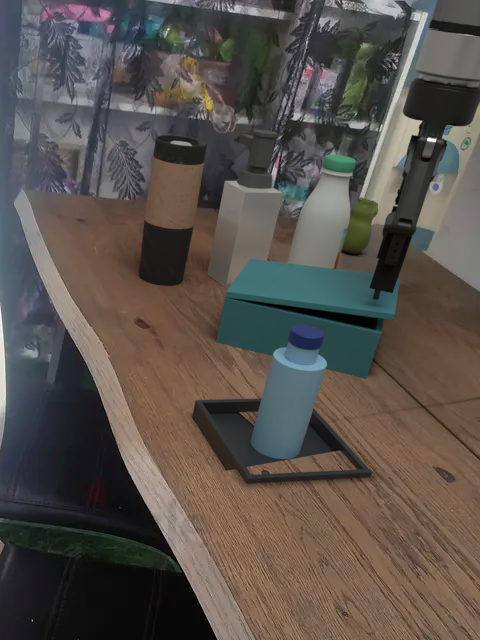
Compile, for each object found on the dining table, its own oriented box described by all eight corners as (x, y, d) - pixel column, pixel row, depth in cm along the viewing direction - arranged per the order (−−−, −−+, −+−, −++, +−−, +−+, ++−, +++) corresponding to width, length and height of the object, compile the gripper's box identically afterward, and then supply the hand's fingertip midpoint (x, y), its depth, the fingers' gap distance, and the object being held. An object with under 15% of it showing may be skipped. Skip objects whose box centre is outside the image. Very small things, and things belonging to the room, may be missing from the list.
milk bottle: (319, 303, 116) (358, 166, 104) (273, 289, 119) (307, 154, 107) (334, 291, 121) (374, 159, 109) (290, 278, 124) (324, 149, 112)
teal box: (372, 340, 105) (388, 294, 101) (364, 384, 93) (381, 333, 89) (239, 310, 110) (249, 264, 106) (214, 347, 98) (225, 297, 94)
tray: (365, 489, 73) (372, 472, 72) (243, 496, 70) (248, 478, 69) (299, 413, 85) (304, 397, 84) (191, 416, 82) (195, 399, 80)
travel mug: (130, 279, 116) (148, 139, 104) (145, 265, 122) (164, 132, 110) (176, 289, 114) (200, 149, 102) (189, 275, 120) (213, 141, 108)
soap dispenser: (234, 268, 125) (265, 125, 112) (260, 287, 119) (296, 137, 106) (200, 269, 123) (227, 123, 110) (225, 288, 117) (257, 135, 104)
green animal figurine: (330, 250, 140) (346, 194, 134) (346, 246, 143) (362, 192, 137) (355, 259, 137) (372, 202, 131) (370, 255, 140) (388, 200, 134)
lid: (398, 282, 100) (418, 206, 94) (393, 320, 88) (415, 235, 82) (249, 264, 106) (259, 191, 100) (225, 297, 94) (234, 216, 88)
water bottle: (309, 455, 76) (347, 340, 69) (268, 462, 74) (302, 344, 67) (280, 430, 80) (313, 318, 72) (240, 436, 78) (269, 322, 70)
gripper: (491, 96, 69) (412, 312, 82) (480, 77, 89) (417, 254, 101) (410, 84, 71) (344, 297, 84) (416, 67, 90) (361, 243, 103)
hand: (384, 274), depth 93 cm, fingers open, 13 cm apart
